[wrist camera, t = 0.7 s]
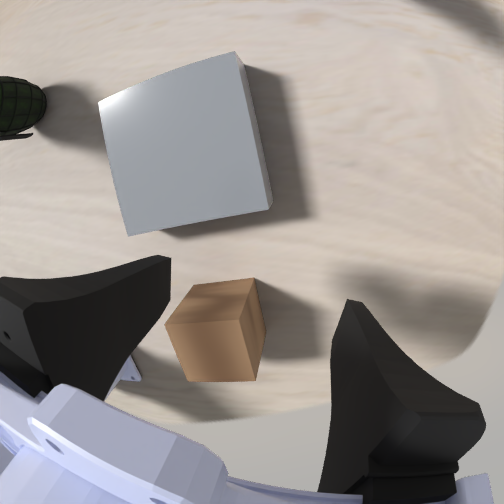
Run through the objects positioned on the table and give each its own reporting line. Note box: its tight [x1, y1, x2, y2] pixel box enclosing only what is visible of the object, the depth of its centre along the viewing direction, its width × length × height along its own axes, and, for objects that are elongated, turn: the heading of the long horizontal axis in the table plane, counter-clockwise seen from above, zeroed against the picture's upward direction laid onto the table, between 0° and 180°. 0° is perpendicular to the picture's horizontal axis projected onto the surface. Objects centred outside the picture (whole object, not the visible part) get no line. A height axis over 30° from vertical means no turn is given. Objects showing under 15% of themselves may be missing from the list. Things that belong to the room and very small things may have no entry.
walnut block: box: [164, 278, 266, 382], centre depth 21 cm, size 5×5×6 cm
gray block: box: [98, 51, 273, 236], centre depth 19 cm, size 10×10×4 cm
